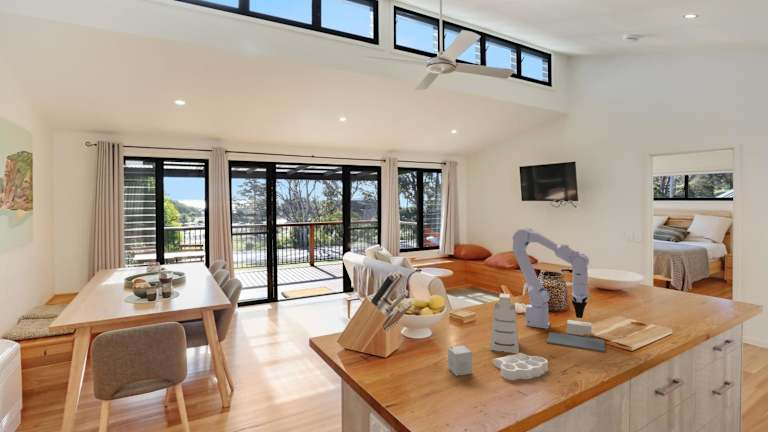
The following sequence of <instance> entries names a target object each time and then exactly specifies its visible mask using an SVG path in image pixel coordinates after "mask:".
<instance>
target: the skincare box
mask: <svg viewBox="0 0 768 432" xmlns="http://www.w3.org/2000/svg"><path fill="white" fill-rule="evenodd" d="M447 358H448V359H447V361H448V363H447V364H448V365H447V366H448V368H449V369H450V370H451V371H452V374H454V376H455V377H459V376H458V375H460V376H464V375H471V374H473V352H472V351H471V350H470V349H469V348H467V347H466V346H465V345H456V346H451V347H448V348H447ZM448 368H447V369H448ZM449 369H448V370H449ZM450 370H449V371H450ZM451 371H450V372H451Z"/></svg>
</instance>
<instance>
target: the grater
mask: <svg viewBox="0 0 768 432" xmlns="http://www.w3.org/2000/svg"><path fill="white" fill-rule="evenodd" d="M498 301H499V302H498V303H497V302H496V303H495V304H494V307H493V315H492V316H493V317H492V326H491V334H490V343H489V344H490V345H489V351H492V350H495V351H494V352H501V351H504V352H503V353H510V352H511V353H513V354H517V353H520V346H519V344H520V342H519V341H520V340H519V331H518V323H517V314H516V313H517V311H516V306H515V304H512V303H511V294H510V293H499V299H498ZM510 303H511V304H510ZM499 344H501V345H499ZM509 345H510V346H509ZM511 345H512V346H511ZM511 353H510V354H511Z"/></svg>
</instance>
